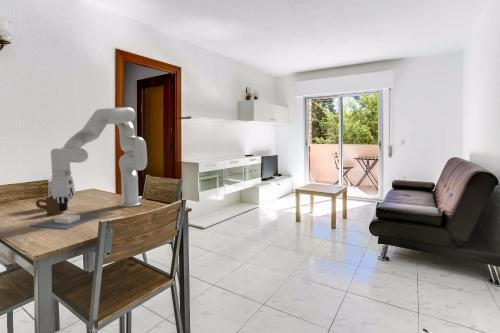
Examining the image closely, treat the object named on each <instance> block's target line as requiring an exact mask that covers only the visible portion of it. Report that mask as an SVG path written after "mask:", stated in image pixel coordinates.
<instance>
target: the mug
mask: <svg viewBox="0 0 500 333" xmlns="http://www.w3.org/2000/svg"><path fill="white" fill-rule="evenodd" d="M41 203H45V204H41ZM35 205H36V207H37V208H38V209H43V210H46V215H47V216H59V215H60V216H61V215H64V212H65V211H59V203H58V202H57V200H56V199H54V198H53V196H52V197H49V196H47V197H45V199H44V198H40V199H37V200H36V201H35Z"/></svg>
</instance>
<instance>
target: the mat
mask: <svg viewBox="0 0 500 333" xmlns="http://www.w3.org/2000/svg"><path fill="white" fill-rule="evenodd" d="M54 218H55V217H53V218H50V219H48V220H43V221H41V222H37V223H33V224H31V225H30V226H29V227H31V228H32V227H34V228H45V229H58V230H59V229H60V230H69V229H71V228H73V227H76V226H79V225H82V224H84V223H87V222H89V221H93V220H96V219H99V216H89V215H80V220H79V221H76V222H73V223H70V224H63V223H55V220H54Z"/></svg>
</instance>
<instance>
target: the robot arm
mask: <svg viewBox="0 0 500 333" xmlns="http://www.w3.org/2000/svg"><path fill="white" fill-rule="evenodd" d="M135 119H136V111H135V110H134V109H133V108H132V107H129V106H123V107H119V106H118V107H110V108H98V109H96V110H95V111H94V112H93V113H92V114H91V116H90V117H89V119H88V120H87V122H86V123H85V125H84V126H83V127H82V128H81V129H80V130H79V131H78V132H76V133H75V134H73V135H72V136H71V137H70V138H69V139H68V140H67V141H66V142H65V144H64V145H63V147H61V148H52V149H51V151H50V163H51V165H50V166H51V177H50V179H51V195H52V196H53V198H54V199H56V200H57V202H58V203H59V211H64V212H65V211H68V208H67V202H68V203H69V201H70V200H73V198H74V197H73V196H75V194H76V191H75V190H76V188H75V182H74V178H73V176H71V175H72V172H71V163H78V164H79V163H83V162H86V161H87V160H88V158H89V153H88V151H87V150H86V149H84V148H83V146H85V145H87V144H88V143H90V142H93V141H95V140H97V139H98V138H99V137H100V136H101V134H102V133H103V131H104V130H105V128H106V126H107V125H116V126H117V127H118V128H117V129H118V130H119V144H120V145H119V146H120V148H121V151H123V152H125V153H129V154H123V155H121V156H120V157H119V160H118V166H119V170H120V180H121V184H120V185H121V202H119V207H122V208H124V207H125V208H129V207H137V206H140V205H142V201H141V200H142V199H143V196H141V195H140V196H139V176H138V172H137V171H144V170H145V169H146V168H147V165H148V151H147V149H148V148H147V143H146V141H145V139H144V138H143V137H142V136H141V137H140V136H136V132H135V127H134V124H133V123H132V122H134V120H135ZM130 153H132V154H130Z"/></svg>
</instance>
